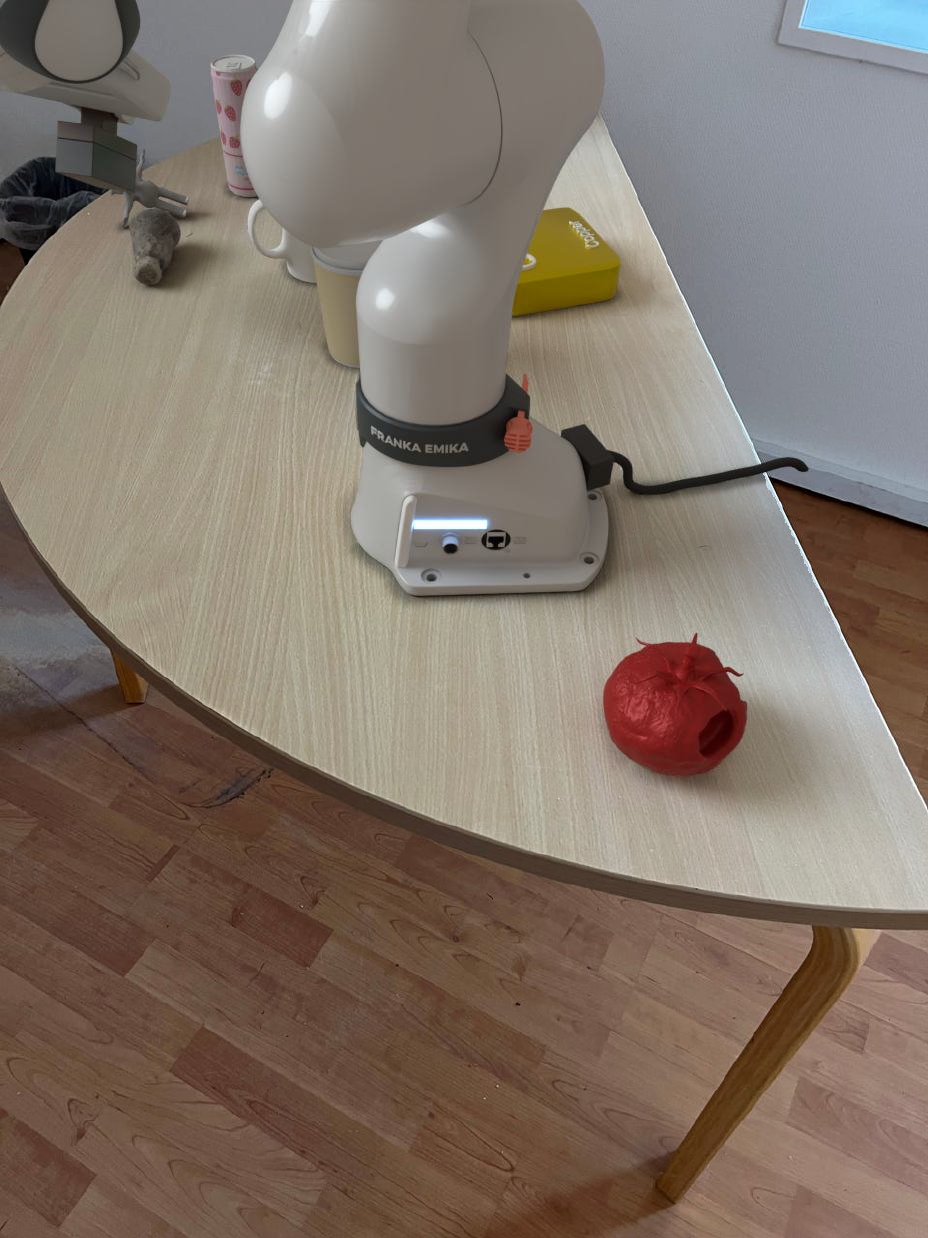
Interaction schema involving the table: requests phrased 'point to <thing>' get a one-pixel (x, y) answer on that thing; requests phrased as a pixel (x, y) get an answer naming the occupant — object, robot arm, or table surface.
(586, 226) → the element tile
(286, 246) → the mug
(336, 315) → the coffee cup
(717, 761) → the red tomato
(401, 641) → the table surface
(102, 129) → the brush
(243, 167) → the beverage can
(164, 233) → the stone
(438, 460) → the robot arm
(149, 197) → the elephant figurine
